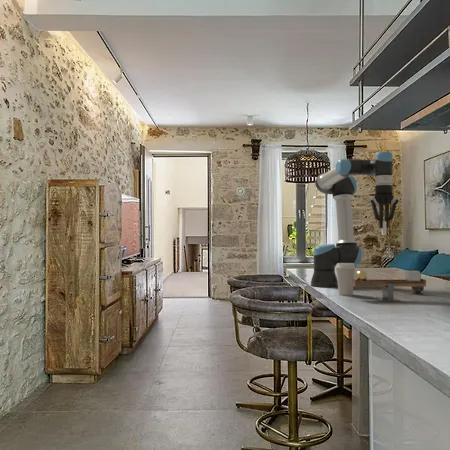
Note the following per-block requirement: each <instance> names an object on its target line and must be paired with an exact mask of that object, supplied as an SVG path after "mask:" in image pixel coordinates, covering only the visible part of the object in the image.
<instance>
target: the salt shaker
mask: <svg viewBox="0 0 450 450" xmlns="http://www.w3.org/2000/svg"><path fill="white" fill-rule="evenodd" d="M416 271H419V269H416ZM421 275H422V273H421V272H420V278H421V277H422V276H421ZM421 279H422V278H421ZM410 287H411V290H412V291H413V292H412V293H411V295H417V296H423V294H424V293H423V291H424V290H425V289H424V288H425V286H410Z"/></svg>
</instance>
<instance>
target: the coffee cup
mask: <svg viewBox="0 0 450 450" xmlns="http://www.w3.org/2000/svg"><path fill="white" fill-rule="evenodd" d="M355 269H357V266H354V264H353V263H337V265H336V266H335V273H336V277H337V281H338V286H337V290H338V296H346V297H347V296H353V295H354V286H353V285H351V278H353V279H355V273H356V272H355Z"/></svg>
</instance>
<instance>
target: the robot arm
mask: <svg viewBox="0 0 450 450" xmlns="http://www.w3.org/2000/svg"><path fill="white" fill-rule="evenodd" d="M393 160H394V159H393V153H392V152H391V151H379V152H378V151H377V152H376V153H375V157H374V159H356V158H354V159H353V158H352V159H351V158H341V159H338V160H337V161H336V163H335V167H333V168H332V169H330V170H328V171H327V172H322V173H321V174H319V175H318V176H317V177H316V179H315V181H314V183H315V184H314V185H315V188H316V189H317V191H318V192H320V193H322V194H325V195H332V199H333V200H334V201H335V209H336V225H337V238H338V241H337V242H336V244H334V243H328V244H320V245H315V246H314V248H313V274H312V277H311V280H310V286H312V287H317V288H336V287H337V288H338V281H337V273H336V268H335V266H336V265H337V263H353V264H354V266H355V267H358V266H359V265H360V263H361V261H362V257H363V252H362V251H363V250H362V248H361V246H358V242H357V241H356V240H355V238H354V224H353V213H352V212H353V211H352V210H353V209H352V199H353V198H354V195H355V193H356V192H357V186H358V185H357V181H356V178H355V177H354V175H355V176H356V175H357V176H367V177H371V176H372V177H375V178H374V179H375V192H374V193H375V194H374V197H373V198H372V199H370V200H369V204H370V205H371V208H372V212H373V216H374V220H375V221H378V222H379V223H378V224H379V225H378V226H379V228H380V229H381V236H387V229H389V227H390V226H389V225H390V224H389V222H390V221H392V220H393V218H394V215H395V211H396V208H397V205H398V203H399V199H397V198H395V197H394V195H393V187H394V186H393V169H394V167H393V165H394V164H393V162H394V161H393ZM376 203H377V204H378V208H377V205H376ZM391 203H392V204H391ZM390 204H391V208H390Z"/></svg>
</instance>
